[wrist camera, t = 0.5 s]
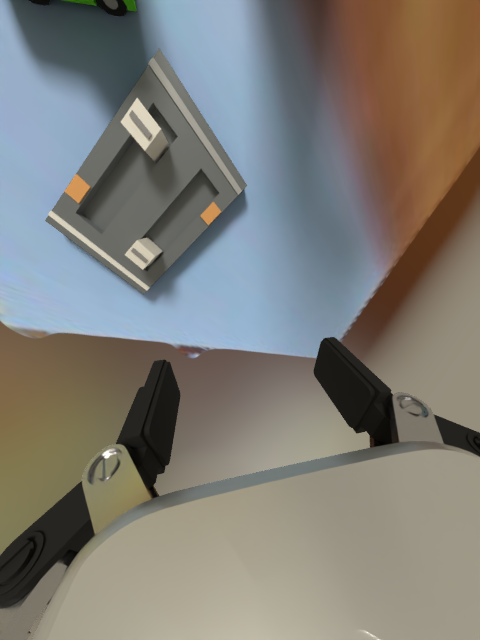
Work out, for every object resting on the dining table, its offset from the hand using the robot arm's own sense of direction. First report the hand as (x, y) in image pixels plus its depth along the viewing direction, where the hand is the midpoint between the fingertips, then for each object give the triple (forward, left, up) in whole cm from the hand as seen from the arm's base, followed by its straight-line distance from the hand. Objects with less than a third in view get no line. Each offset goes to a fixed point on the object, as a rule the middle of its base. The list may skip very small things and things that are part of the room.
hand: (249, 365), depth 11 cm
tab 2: (+7, -11, -27) cm, 30 cm away
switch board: (+1, -15, -28) cm, 32 cm away
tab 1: (-5, -19, -27) cm, 33 cm away
